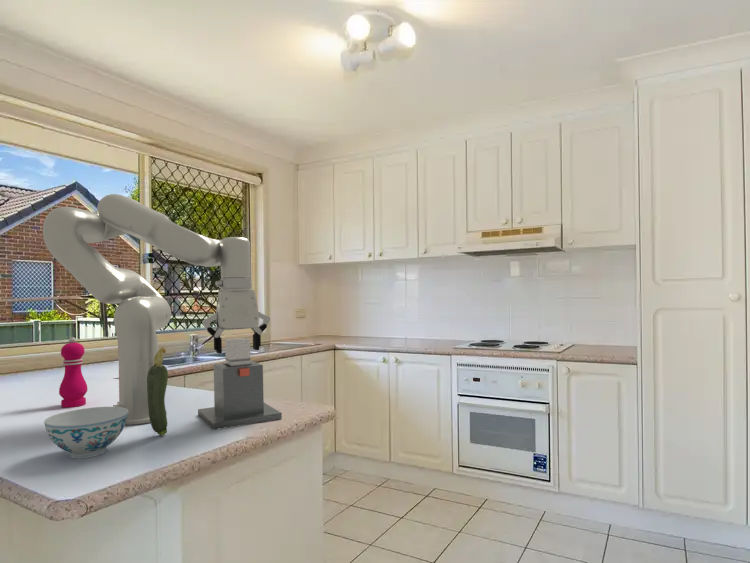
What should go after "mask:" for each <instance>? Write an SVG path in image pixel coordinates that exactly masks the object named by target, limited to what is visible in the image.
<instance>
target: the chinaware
mask: <svg viewBox="0 0 750 563" xmlns="http://www.w3.org/2000/svg"><path fill="white" fill-rule="evenodd" d="M127 417H128V409H126V408H122V407H113V406H96V407H86V408H80V409H79V408H78V409H73V410H67V411H64V412H60V413H56V414H54V415H51V416H49V417H47V418H46V419H44V421H43V423H44V426H45V430H46V433H47V436H48V437H49V439H50V440H51V441H52V443H53V444H54V445H56V447H58V448H59V449H61V450H63V451H65V452H67V453H68V454H69V457H70V458H73V459H85V458H91V457H96V456H99V455H102V454H104V453H106V452H107V450H108V446H109V445H111V444H112V443H114V442H115V441H116V440H117V438H118V437H119V436H120V435H121V433H122V432H123V430H124V428H125V426H126V425H125V424H126V421H127Z"/></svg>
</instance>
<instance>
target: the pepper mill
mask: <svg viewBox="0 0 750 563" xmlns="http://www.w3.org/2000/svg"><path fill="white" fill-rule="evenodd" d="M76 341H77V339H76V337H75V336H74V337H70V338H69V340H68V342H69V343H66V344H64V345H63V346H62V347H61V349H60V355H61V357H62V358H63V360H62V363H63V364H62V365H64V375H63V379H62V380H61V382H60V385H59V388H58V394H59V396H60V397H61V398H62V399H61V401H60V404H61V405H60V406H61V408H77V407H81V406H85V405H86V403H87V398H86V397H85V395H86V394H87V392H88V389H89V388H88V385H87V382H86V380H85V378H84V376H83V373H82V364H83V356H84V354H85V346H84V345H83V344H81V343H79V342H76Z"/></svg>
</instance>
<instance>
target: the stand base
mask: <svg viewBox="0 0 750 563" xmlns="http://www.w3.org/2000/svg"><path fill="white" fill-rule="evenodd" d="M225 364H226V362H224V363H213V397H214V400H213V402H214V404H213V406H212V407H205V408H204V407H203V408H198V409H197V416H198V417H199V418H201V419H202V421H203V422H205V424H207V425H208V427H209V428H211V430H213V429H214V430H219V429H218V428H221V429H225V428H224V427H227V428H232V427H231V426H233V427H239V426H238V425H240V426H245V425H251V424H256V423H257V424H258V423H265V422H271V421H278V420H281V419H282V417H283V416H282V414H283V413H282V412H281V411H280V410H277V409H276V408H274V407H273V406H271V405H269V404H267V403H265V402H264V400H265V399H264V365H263V364H261V363H258V362H257V361H256V362H255V361H253V360H250V364H251V365H246V366H235V367H228V366H226V365H225ZM282 420H283V419H282Z"/></svg>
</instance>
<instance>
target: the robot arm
mask: <svg viewBox="0 0 750 563" xmlns="http://www.w3.org/2000/svg"><path fill="white" fill-rule="evenodd" d="M96 208H97V209H96V211H89V210H85V209H81V208H79V207H78V208H77V207H73V206H61V207H60V206H59V207H56V208H53V209H52V210H51V211H50V212H49V213H48V214H47V215H46V217H45V219H44V222H43V226H42V235H43V241H44V243H45V246H46V248H47V250H48V251H49V253H50V254H51V255H52V256H53V258H54V259H55V260H57V262H58V263H59V264H61V265H62V267H64V269H66V270H67V272H69V273H70V274H71V275H72V276H73V277H74V279H75V280H76V281H77V282H79V284H80V285H81V286H82V287H83V288H85V289H86V291H87V292H89V293H90V294H91V295H92V297H93V298H95V299H96V300H97V301H98V302H100V303H101V304H107V305H117V304H118V306H117V307H116V309H115V312H114V314H113V315H114V316H113V320H114V322H113V324H114V328H115V333H116V339H117V350H118V351H117V352H118V353H117V355H118V358H117V359H118V396H119V397H118V398H119V401H117V402H116V403H117V404H113V406H112V407H122V408H126V409H128V417H127V421H126V424H125V426H130V425H131V426H132V425H133V426H134V425H142V424H148V423H151V422H150V418H149V408H148V394H147V375H148V371H149V369H150V368H151V367H152V366H153V365H154V357H155V355H156V353H157V352H158V350H160V348H159V346H160V345H159V340H158V336H157V331H158V330H161V329H163V328H164V327H166V326H167V325H169V323H170V321H171V318H172V309H171V307H170V304H169V303H168V300H166V299H165V298H164V297H163V296H162V295H161V294H160V293H159V292H158V291H157V290H156V289H155V288H154V287H153V286H152V285H151V284H150V283H149V281H147V280H146V279H145V278H144V277H143V276H141V274H139V273H137V272H136V271H134V270H131V269H127V268H121V267H117V266H114V265H113V264H111V263H110V262H109V261H108V259H106V258H105V257H104V256H103V255H102V254H101V253H100V252H99V251H98V250H97V249H96V248H94V247H92V245H90V244H97V243H101V242H104V241H107V240H111V239H114V238H116V237H119V236H124V235H126V234H128V235H130V236H132V237H134V238H136V239H138V240H141V241H143V242H144V243H146V244H149V245H150V246H152V247H154V248H157V249H158V250H160V251H162V252H164V253H166V254H168V255H170V256H173V257H174V258H176V259H179V260H182V261H183V262H185V263H188V264H189V265H192V266H199V267H200V266H201V267H206V268H207V267H208V268H212V267H220V280H216V281H215V282H214V283H215V287H219V288H220V289H221V290H219V291H218V294H217V300H216V311H215V313H214V314H212V315H210V316H209V317H207V318H205V319H203V320H202V321H201V322H202V325H203V327H204V328H205V330H206V332H207V333H208V334H209V335H211V336H212V337H213V349H214V351H215V353H217V354H222V352H223V347H222V346H223V344H222V343H223V342H222V337H221V335H222V333H223V332H224V331H225V330H226V331H229V330H244V329H245V330H246V329H251V331H252V332H253V334H252V349H253V350H255V351H260V347H261V346H262V343H261V342H262V339H261V338H262V337H261V335H262V334H263V333H264V331H265V330H266V329H267V327H268V325H269V323H270V320H271V317H270V316H268V315H266V314H264V313H261V312H259V308H258V299H257V296H256V291H255V290H254V289H253V290H252V268H251V267H252V265H251V264H252V262H251V261H252V260H251V256H252V255H251V242H250V240H249V239H248V238H246V237H241V236H229V237H228V236H227V237H224V238H222V239H215V238H211V237H208V236H205V235H202V234H199V233H196V232H194V231H192V230H190V229H188V228H185V227H184V226H181V225H179V224H177V223H175V222H173V221H171V219H169V217H168V216H167V215H166V214H164V213H162V212H159V211H157V210H155V209H153V208H150V207H148V206H146V205H144V204H142V203H141V202H139V201H137V200H135V199H133V198H130V197H128V196H125V195H122V194H116V193H112V194H111V193H110V194H107V195H105V196H103V197H102V198H101V199H100V200H99V201H98V203H97V207H96ZM259 319H261V320H262V321H261V322H262V323H261V324H260V322H259V321H260V320H259ZM214 321H215V325H216V328H215V329H214V328H212V326H211V323H212V322H214ZM166 416H167V413H166Z"/></svg>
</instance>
